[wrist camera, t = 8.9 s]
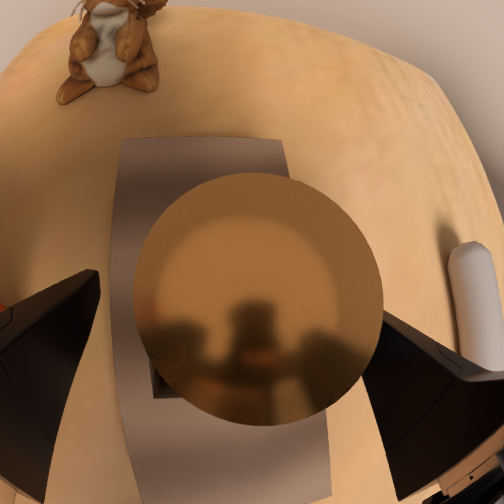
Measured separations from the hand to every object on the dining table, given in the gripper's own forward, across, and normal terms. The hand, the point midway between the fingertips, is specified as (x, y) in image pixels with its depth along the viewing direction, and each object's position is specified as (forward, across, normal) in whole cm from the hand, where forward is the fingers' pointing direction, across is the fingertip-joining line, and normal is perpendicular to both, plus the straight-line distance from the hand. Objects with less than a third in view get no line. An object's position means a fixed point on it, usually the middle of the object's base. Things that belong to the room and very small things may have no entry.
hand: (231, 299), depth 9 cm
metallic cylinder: (+6, 0, +6) cm, 8 cm away
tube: (+3, -24, +10) cm, 26 cm away
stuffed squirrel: (+22, +13, -10) cm, 28 cm away
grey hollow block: (+6, 0, +6) cm, 8 cm away
